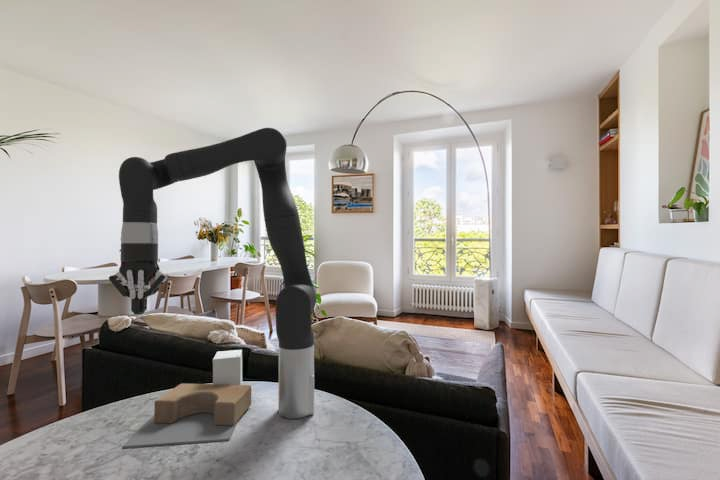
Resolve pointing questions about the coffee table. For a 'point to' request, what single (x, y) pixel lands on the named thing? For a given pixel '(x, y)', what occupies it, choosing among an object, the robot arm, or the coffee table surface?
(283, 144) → the robot arm
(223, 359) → the supplement box
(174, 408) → the decorative block
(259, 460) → the coffee table surface
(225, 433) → the mat
